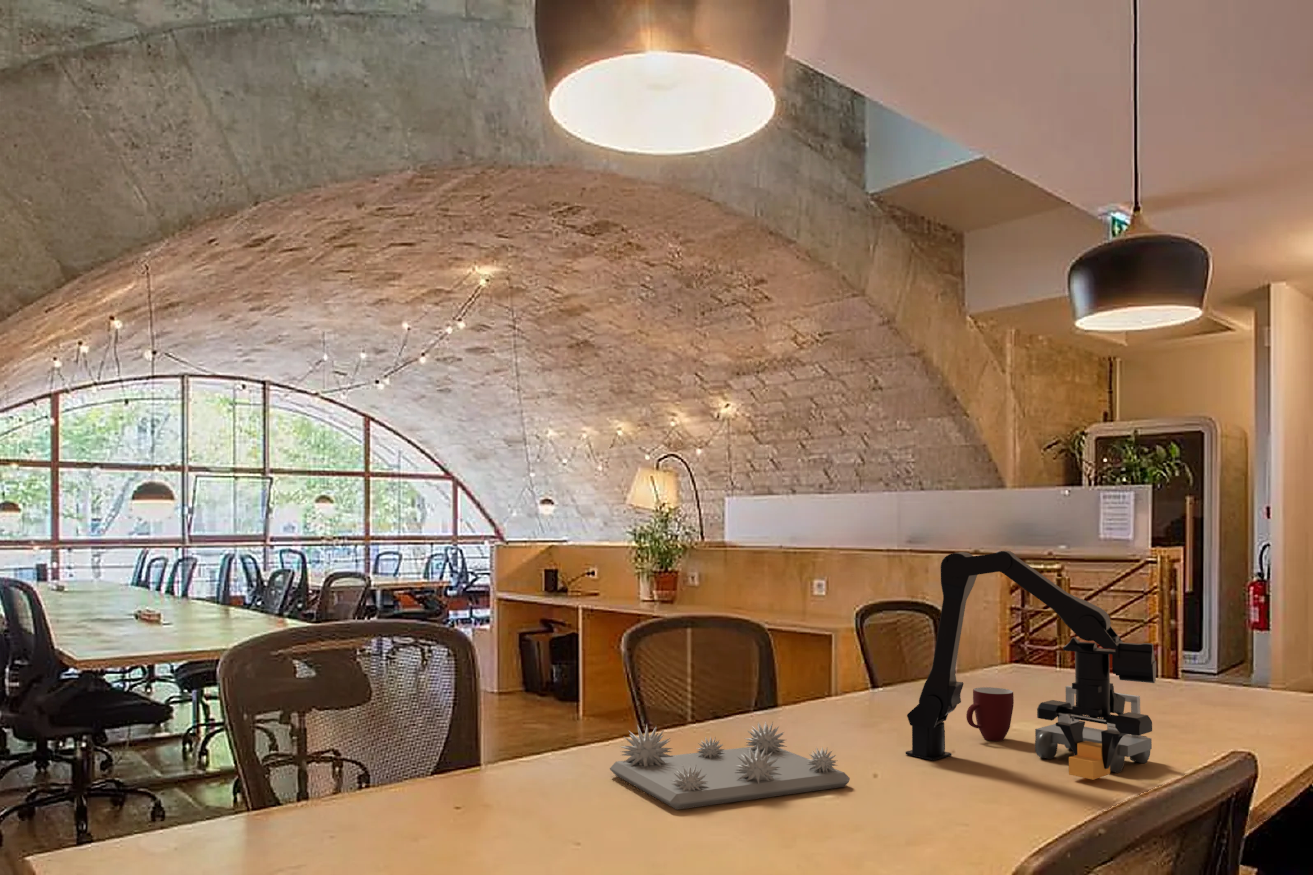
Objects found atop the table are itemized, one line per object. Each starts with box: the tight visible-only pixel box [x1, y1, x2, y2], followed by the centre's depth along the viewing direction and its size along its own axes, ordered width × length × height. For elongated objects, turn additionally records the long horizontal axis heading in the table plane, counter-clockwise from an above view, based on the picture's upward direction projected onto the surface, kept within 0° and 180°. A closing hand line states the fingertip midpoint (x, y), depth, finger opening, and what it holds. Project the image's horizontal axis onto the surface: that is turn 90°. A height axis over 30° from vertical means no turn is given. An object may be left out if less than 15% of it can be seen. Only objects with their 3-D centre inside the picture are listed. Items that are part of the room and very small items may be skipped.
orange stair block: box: [1068, 741, 1111, 780], centre depth 183 cm, size 6×4×5 cm
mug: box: [965, 686, 1015, 742], centre depth 214 cm, size 10×8×10 cm
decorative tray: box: [609, 720, 851, 811], centre depth 179 cm, size 35×26×10 cm
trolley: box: [1034, 685, 1152, 774], centre depth 197 cm, size 16×18×13 cm
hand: (1093, 765), depth 184 cm, fingers closed on orange stair block, 4 cm apart
